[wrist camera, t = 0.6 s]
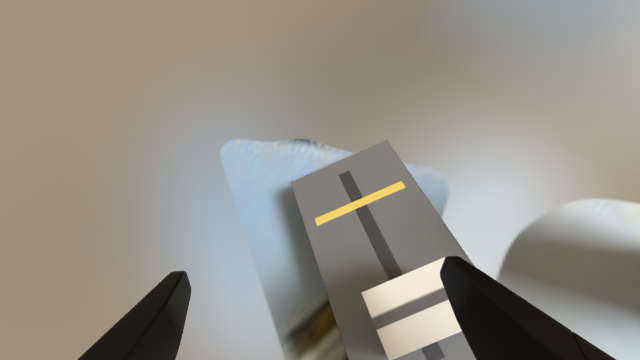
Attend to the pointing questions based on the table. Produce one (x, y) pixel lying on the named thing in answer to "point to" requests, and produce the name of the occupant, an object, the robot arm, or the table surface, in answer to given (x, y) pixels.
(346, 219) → the fader console
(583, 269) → the table surface
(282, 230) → the table surface
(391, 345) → the fader tab
